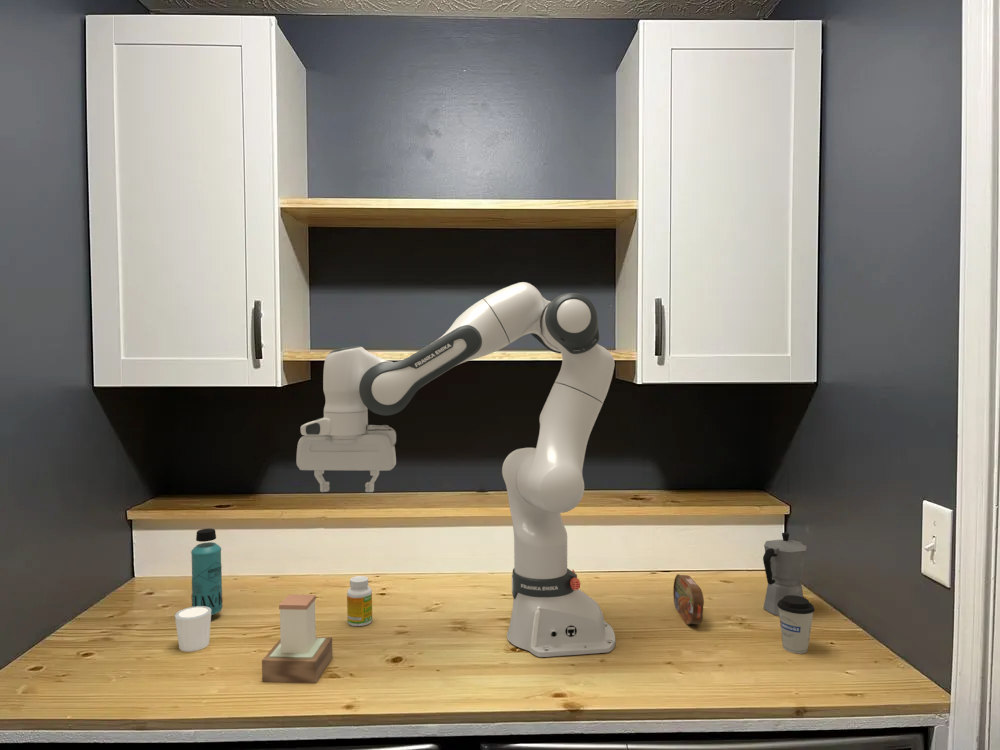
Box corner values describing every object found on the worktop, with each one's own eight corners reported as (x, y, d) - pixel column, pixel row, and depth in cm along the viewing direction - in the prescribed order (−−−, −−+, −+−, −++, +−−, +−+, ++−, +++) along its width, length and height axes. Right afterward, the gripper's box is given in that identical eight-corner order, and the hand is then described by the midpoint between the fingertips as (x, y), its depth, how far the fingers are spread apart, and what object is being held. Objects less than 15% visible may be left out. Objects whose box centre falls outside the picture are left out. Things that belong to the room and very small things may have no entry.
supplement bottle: (366, 627, 149) (365, 583, 148) (343, 625, 150) (342, 582, 149) (376, 617, 154) (375, 575, 153) (353, 616, 155) (352, 573, 154)
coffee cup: (795, 638, 142) (796, 591, 142) (822, 652, 136) (823, 603, 135) (768, 644, 140) (769, 596, 139) (794, 659, 133) (795, 608, 133)
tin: (672, 604, 161) (672, 568, 161) (685, 603, 161) (685, 568, 161) (691, 631, 146) (691, 592, 146) (705, 631, 146) (706, 592, 146)
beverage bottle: (185, 621, 152) (182, 533, 151) (205, 610, 159) (202, 525, 158) (211, 624, 151) (208, 534, 150) (229, 612, 157) (227, 526, 156)
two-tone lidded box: (316, 641, 132) (315, 594, 132) (307, 653, 127) (306, 605, 127) (290, 640, 133) (289, 594, 132) (280, 652, 127) (278, 604, 127)
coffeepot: (779, 597, 165) (780, 523, 164) (818, 608, 158) (820, 531, 157) (744, 613, 155) (745, 535, 154) (784, 627, 148) (785, 544, 147)
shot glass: (219, 640, 143) (218, 607, 142) (196, 654, 136) (195, 620, 136) (192, 636, 145) (191, 604, 144) (168, 650, 138) (166, 616, 138)
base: (332, 657, 135) (332, 635, 135) (316, 682, 125) (315, 659, 125) (282, 656, 135) (282, 635, 135) (262, 681, 125) (261, 658, 125)
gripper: (399, 423, 144) (400, 488, 145) (303, 423, 145) (304, 487, 146) (392, 427, 138) (393, 495, 138) (292, 426, 139) (294, 494, 139)
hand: (347, 491), depth 142 cm, fingers open, 8 cm apart
